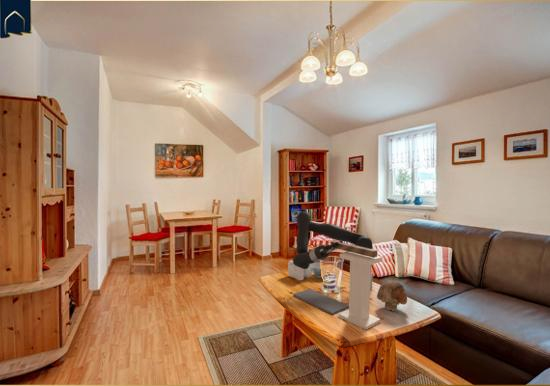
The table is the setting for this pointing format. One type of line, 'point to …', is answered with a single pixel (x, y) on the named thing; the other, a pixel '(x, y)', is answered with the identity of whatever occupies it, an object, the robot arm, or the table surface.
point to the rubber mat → (321, 301)
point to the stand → (359, 290)
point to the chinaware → (316, 269)
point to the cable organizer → (298, 271)
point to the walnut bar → (356, 249)
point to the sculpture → (392, 294)
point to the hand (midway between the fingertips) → (340, 243)
